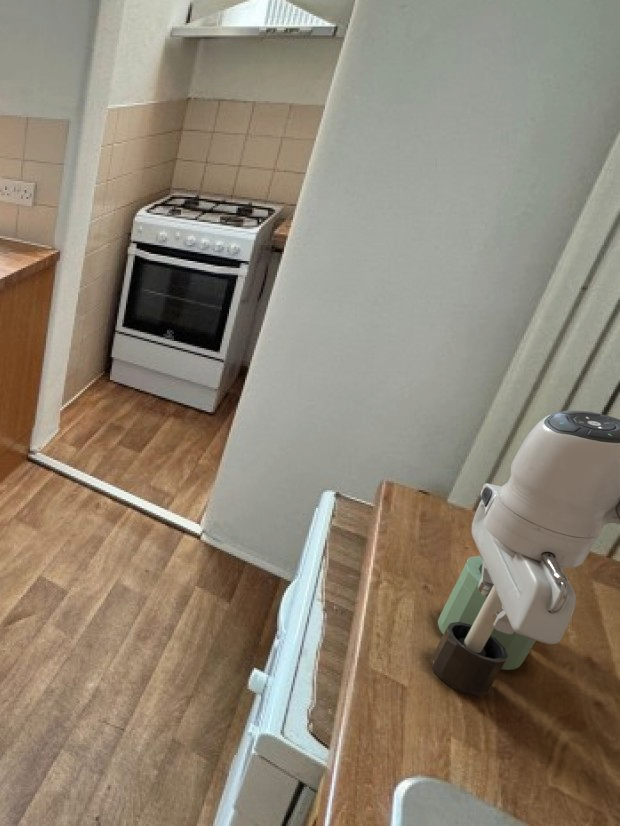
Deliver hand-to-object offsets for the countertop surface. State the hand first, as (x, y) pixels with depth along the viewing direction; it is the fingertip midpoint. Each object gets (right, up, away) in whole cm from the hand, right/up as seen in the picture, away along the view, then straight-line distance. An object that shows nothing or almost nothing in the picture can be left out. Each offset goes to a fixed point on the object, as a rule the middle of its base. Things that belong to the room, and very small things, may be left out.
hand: (493, 610), depth 80 cm
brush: (0, -11, +4) cm, 12 cm away
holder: (0, -12, +5) cm, 13 cm away
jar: (+8, -10, +10) cm, 16 cm away
